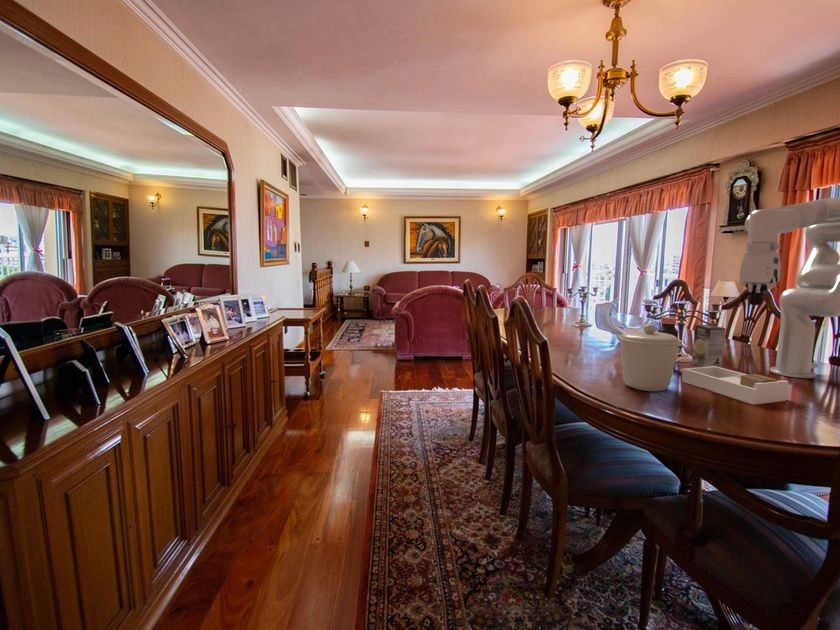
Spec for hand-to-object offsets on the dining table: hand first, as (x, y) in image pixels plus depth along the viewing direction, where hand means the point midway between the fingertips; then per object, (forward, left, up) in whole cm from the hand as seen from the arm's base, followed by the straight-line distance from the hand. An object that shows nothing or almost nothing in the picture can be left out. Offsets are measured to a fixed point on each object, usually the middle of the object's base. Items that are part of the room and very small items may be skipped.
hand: (755, 304), depth 136 cm
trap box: (+12, +4, -27) cm, 30 cm away
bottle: (+11, -23, -27) cm, 37 cm away
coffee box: (-8, -22, -27) cm, 36 cm away
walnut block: (+12, +12, -24) cm, 29 cm away
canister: (+36, -6, -27) cm, 46 cm away
